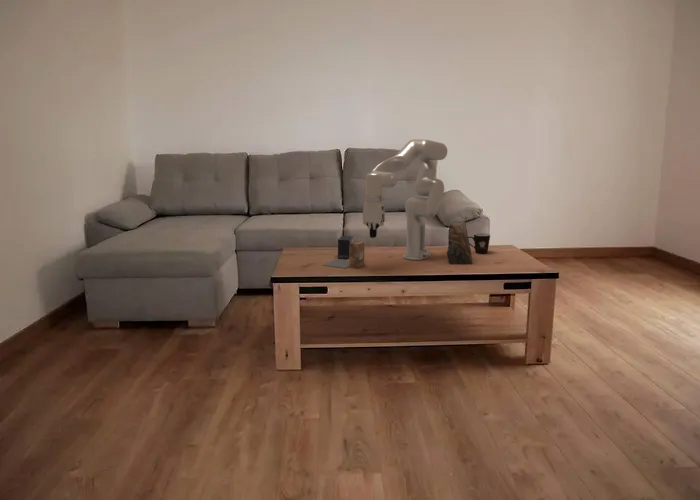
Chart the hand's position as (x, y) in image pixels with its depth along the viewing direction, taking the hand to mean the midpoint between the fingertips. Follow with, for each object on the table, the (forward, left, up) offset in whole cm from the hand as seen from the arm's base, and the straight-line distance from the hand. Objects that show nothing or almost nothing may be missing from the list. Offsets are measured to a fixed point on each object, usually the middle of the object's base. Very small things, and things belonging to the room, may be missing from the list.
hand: (373, 237), depth 281 cm
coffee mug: (-33, -59, -16) cm, 69 cm away
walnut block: (+9, -1, -16) cm, 18 cm away
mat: (+19, -1, -16) cm, 24 cm away
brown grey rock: (-32, -33, -16) cm, 48 cm away
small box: (+25, -16, -16) cm, 33 cm away
